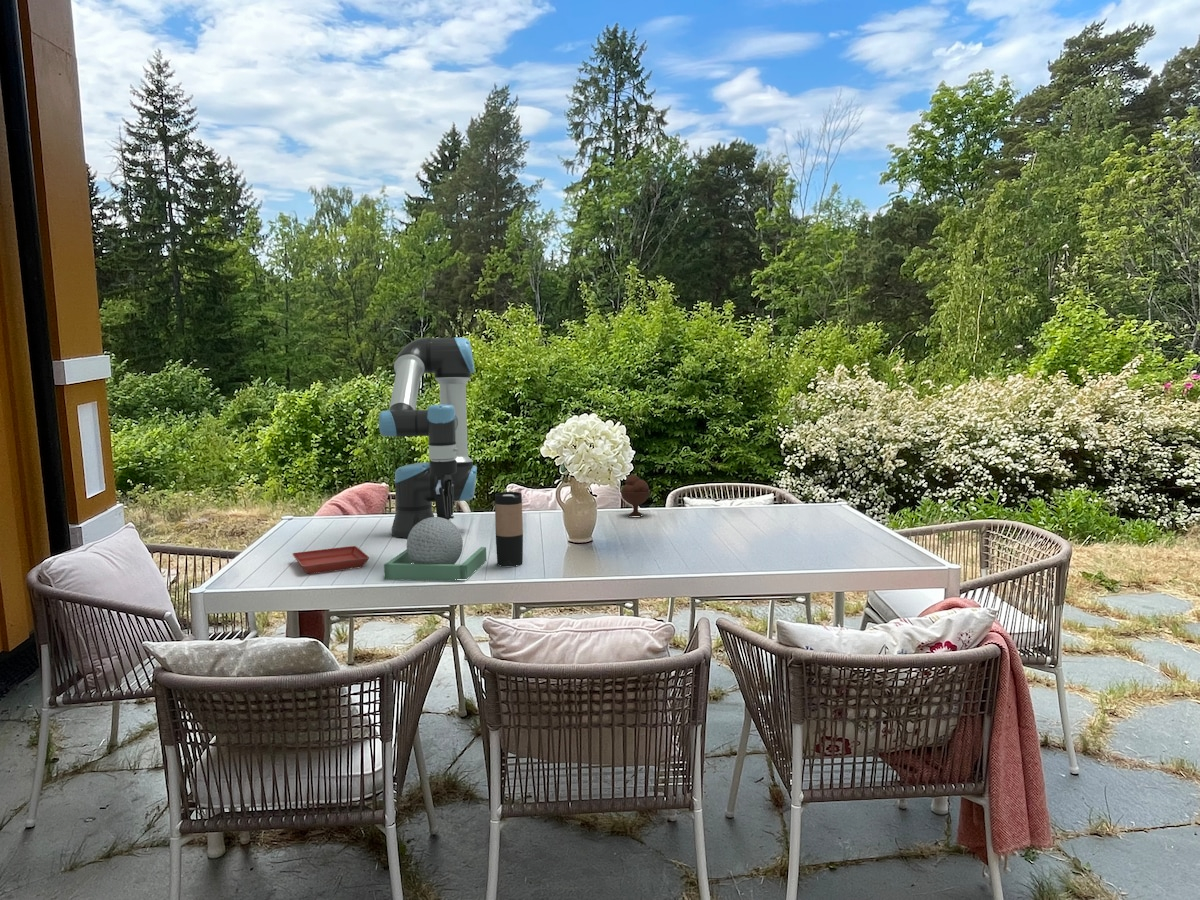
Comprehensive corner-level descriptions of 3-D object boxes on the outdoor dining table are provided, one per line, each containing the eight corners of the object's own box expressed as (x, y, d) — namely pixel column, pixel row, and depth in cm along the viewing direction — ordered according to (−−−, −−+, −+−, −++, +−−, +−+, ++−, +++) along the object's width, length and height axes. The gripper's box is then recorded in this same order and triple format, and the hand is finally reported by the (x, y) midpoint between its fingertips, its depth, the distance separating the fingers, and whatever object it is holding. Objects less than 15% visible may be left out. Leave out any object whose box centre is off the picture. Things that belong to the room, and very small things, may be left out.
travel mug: (498, 560, 234) (496, 491, 232) (525, 560, 234) (523, 491, 232) (494, 567, 226) (492, 496, 224) (521, 567, 226) (520, 496, 224)
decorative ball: (474, 570, 223) (473, 516, 222) (429, 582, 212) (427, 525, 211) (441, 561, 233) (440, 510, 232) (396, 572, 222) (394, 518, 221)
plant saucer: (292, 563, 235) (291, 552, 234) (355, 555, 243) (355, 544, 243) (302, 577, 219) (302, 565, 219) (370, 569, 228) (370, 557, 227)
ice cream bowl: (619, 518, 293) (618, 477, 291) (623, 512, 304) (623, 473, 302) (648, 519, 291) (648, 477, 290) (651, 513, 302) (651, 473, 301)
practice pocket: (412, 559, 236) (411, 545, 236) (486, 560, 234) (486, 547, 233) (384, 579, 215) (384, 564, 215) (465, 581, 213) (465, 566, 212)
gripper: (449, 462, 222) (452, 547, 224) (462, 456, 234) (465, 537, 237) (422, 462, 223) (426, 547, 225) (437, 456, 235) (440, 537, 238)
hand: (446, 542), depth 231 cm, fingers closed
